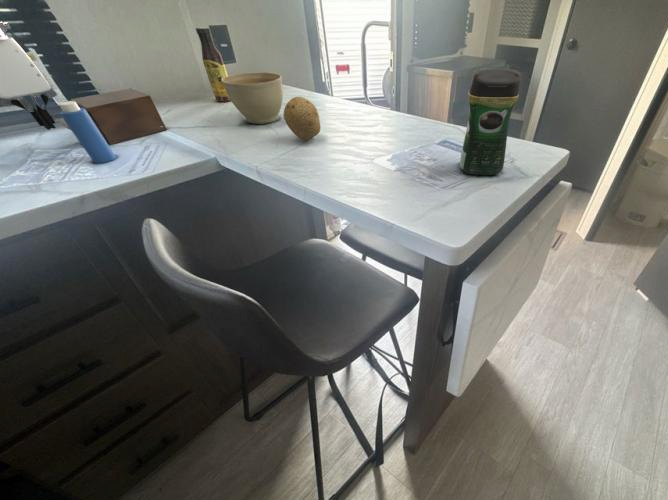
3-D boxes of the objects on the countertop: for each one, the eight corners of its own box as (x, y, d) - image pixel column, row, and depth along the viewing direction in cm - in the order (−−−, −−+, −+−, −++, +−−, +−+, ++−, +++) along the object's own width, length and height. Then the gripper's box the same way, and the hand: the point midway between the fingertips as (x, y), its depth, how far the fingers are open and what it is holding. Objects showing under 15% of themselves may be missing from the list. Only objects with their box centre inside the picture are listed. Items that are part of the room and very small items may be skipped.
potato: (292, 134, 88) (282, 92, 80) (324, 133, 88) (317, 91, 81) (287, 146, 81) (276, 102, 74) (322, 145, 82) (314, 101, 75)
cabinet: (110, 144, 83) (87, 107, 77) (93, 134, 88) (70, 99, 82) (167, 129, 91) (149, 95, 85) (148, 121, 96) (130, 88, 90)
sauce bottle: (212, 101, 111) (184, 27, 96) (223, 97, 115) (198, 25, 101) (229, 103, 110) (203, 28, 95) (239, 98, 114) (216, 26, 100)
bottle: (97, 164, 74) (57, 107, 65) (90, 159, 76) (50, 103, 67) (119, 158, 76) (82, 102, 68) (111, 154, 78) (75, 98, 70)
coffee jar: (499, 162, 74) (520, 65, 60) (503, 177, 68) (528, 74, 55) (458, 161, 74) (470, 64, 61) (459, 175, 69) (472, 73, 55)
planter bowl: (290, 126, 92) (280, 82, 85) (232, 130, 90) (216, 85, 82) (290, 110, 103) (281, 70, 96) (239, 113, 101) (225, 72, 93)
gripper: (20, 26, 70) (80, 117, 83) (-77, 33, 62) (7, 133, 75) (29, 28, 67) (90, 123, 80) (-71, 36, 59) (15, 139, 72)
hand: (50, 127), depth 78 cm, fingers closed
